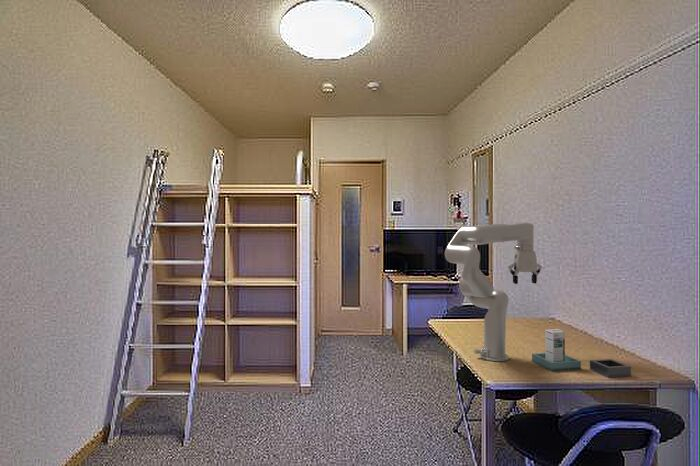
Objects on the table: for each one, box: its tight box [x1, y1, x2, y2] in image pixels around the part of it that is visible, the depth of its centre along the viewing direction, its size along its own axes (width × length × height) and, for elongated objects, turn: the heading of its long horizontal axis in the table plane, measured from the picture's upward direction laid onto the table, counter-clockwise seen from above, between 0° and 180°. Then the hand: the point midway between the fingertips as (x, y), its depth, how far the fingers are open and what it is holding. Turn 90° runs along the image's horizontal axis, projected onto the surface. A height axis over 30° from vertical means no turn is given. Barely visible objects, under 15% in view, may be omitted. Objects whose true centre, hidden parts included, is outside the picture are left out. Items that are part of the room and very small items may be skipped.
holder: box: [589, 358, 632, 379], centre depth 189 cm, size 10×10×4 cm
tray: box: [531, 352, 582, 372], centre depth 198 cm, size 14×14×4 cm
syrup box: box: [544, 328, 566, 362], centre depth 198 cm, size 6×6×14 cm
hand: (524, 283), depth 221 cm, fingers open, 9 cm apart
